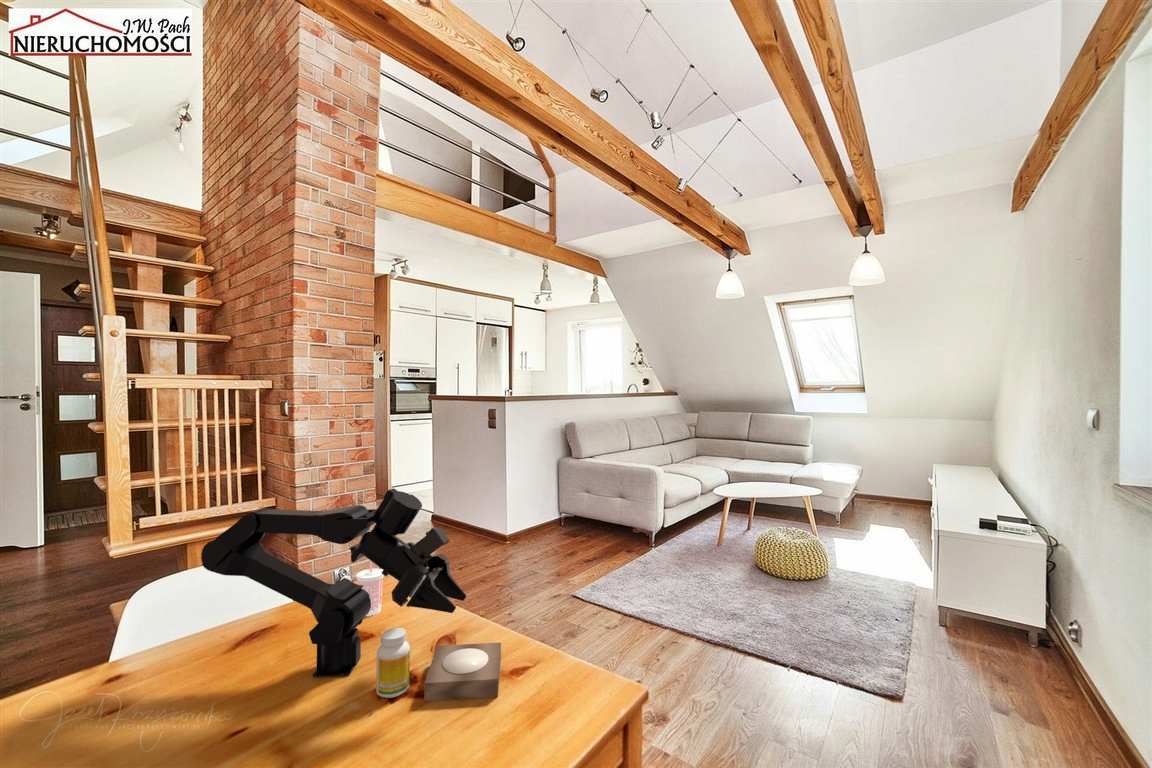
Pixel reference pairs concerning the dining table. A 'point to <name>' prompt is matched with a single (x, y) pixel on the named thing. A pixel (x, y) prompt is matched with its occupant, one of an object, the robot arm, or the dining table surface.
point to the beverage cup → (372, 587)
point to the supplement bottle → (393, 664)
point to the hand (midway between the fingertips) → (460, 604)
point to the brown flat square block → (463, 672)
